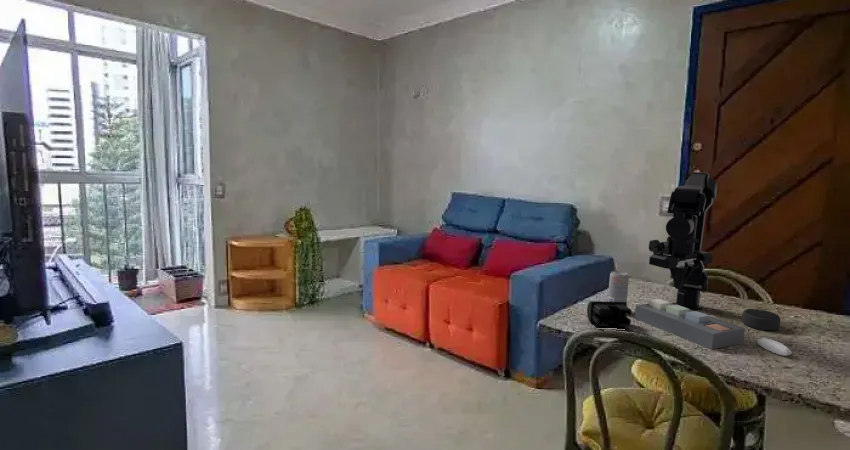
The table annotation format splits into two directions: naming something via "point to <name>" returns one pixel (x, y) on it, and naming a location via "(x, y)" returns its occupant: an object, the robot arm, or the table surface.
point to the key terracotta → (718, 327)
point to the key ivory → (659, 303)
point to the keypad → (691, 327)
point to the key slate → (697, 317)
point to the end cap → (609, 314)
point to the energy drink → (618, 286)
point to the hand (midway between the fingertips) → (678, 288)
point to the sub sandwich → (774, 346)
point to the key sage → (677, 310)
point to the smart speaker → (761, 319)
